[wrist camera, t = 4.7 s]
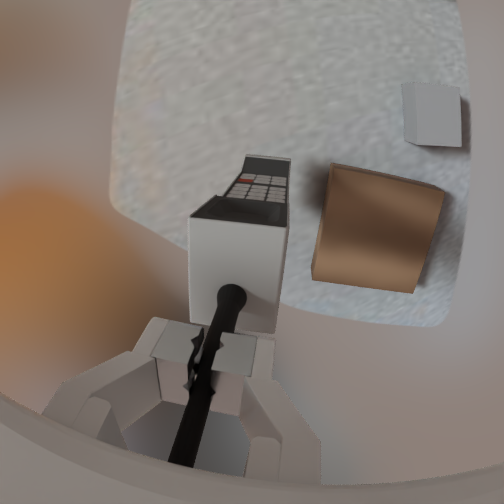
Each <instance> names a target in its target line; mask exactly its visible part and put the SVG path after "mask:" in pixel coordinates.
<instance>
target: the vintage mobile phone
mask: <svg viewBox="0 0 504 504" xmlns="http://www.w3.org/2000/svg"><path fill="white" fill-rule="evenodd" d="M290 165H291V159H290V158H281V157H271V156H261V155H250V154H246V155H245V157H244V161H243V164H242V168H241V171H240V173H239V174H238V176H237V177H236V178H235V179H234V181H233V182H232V183H231V184H230V186H229V187H228V188H227V190H226V191H225V192H224V193H223V195H222V196H217V195H214V196H213V197H212V198H210V199H209V200H208V201H207V202H205V203H204V204H203V205H202V206H200V207H199V208H198V209H197V210H196V211H194V212H193V213H192V214H191V215H190V216H189V217H188V274H189V305H190V321H191V322H192V323H198V324H204V325H210V328H209V331H208V333H207V336H206V339H205V342H204V344H203V348H204V353H203V357H202V361H201V365H200V368H199V370H198V373H197V376H196V379H195V382H194V385H193V388H192V391H191V394H190V397H189V400H188V403H187V406H186V408H185V411H184V414H183V418H182V421H181V423H180V426H179V429H178V432H177V435H176V438H175V441H174V444H173V447H172V450H171V453H170V456H169V459H168V462H169V463H173V464H177V465H181V466H186V467H190V468H193V466H194V463H195V459H196V455H197V452H198V448H199V444H200V441H201V437H202V433H203V430H204V426H205V422H206V419H207V415H208V412H209V408H210V396H211V392H212V387H211V368H212V365H213V362H214V358H215V355H216V351H217V350H219V347H220V338H221V335H222V332H223V331H227V332H233V333H234V330H235V329H238V330H245V331H253V332H261V333H269V334H274V333H275V328H276V321H277V315H278V308H279V301H280V294H281V287H282V280H283V273H284V265H285V258H286V250H287V243H288V235H289V177H290Z"/></svg>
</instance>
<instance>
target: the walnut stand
mask: <svg viewBox="0 0 504 504" xmlns="http://www.w3.org/2000/svg"><path fill="white" fill-rule="evenodd" d="M444 195H445V192H444V191H442V190H441V189H439V188H438V187H436V186H434V185H431V184H427V183H423V182H419V181H415V180H411V179H407V178H403V177H399V176H394V175H390V174H385V173H381V172H376V171H371V170H366V169H362V168H357V167H351V166H346V165H341V164H335V163H331V165H330V171H329V177H328V182H327V188H326V193H325V199H324V204H323V210H322V215H321V220H320V225H319V230H318V235H317V240H316V245H315V250H314V255H313V259H312V264H311V273H312V280H315V281H322V282H330V283H337V284H344V285H351V286H358V287H366V288H373V289H381V290H388V291H396V292H404V293H411V294H413V292H414V290H415V287H416V284H417V282H418V279H419V276H420V273H421V271H422V268H423V265H424V262H425V259H426V256H427V253H428V250H429V247H430V244H431V241H432V238H433V234H434V231H435V228H436V224H437V221H438V217H439V214H440V210H441V207H442V203H443V199H444Z"/></svg>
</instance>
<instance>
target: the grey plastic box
mask: <svg viewBox="0 0 504 504" xmlns="http://www.w3.org/2000/svg"><path fill="white" fill-rule="evenodd" d="M401 87H402V100H403V116H404V140H405V141H408V142H411V143H414V144H416V145H433V146H452V147H461V104H460V89H459V87H455V86H448V85H439V84H430V83H420V82H412V83H406V84H401Z"/></svg>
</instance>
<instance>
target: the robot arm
mask: <svg viewBox="0 0 504 504" xmlns="http://www.w3.org/2000/svg"><path fill="white" fill-rule="evenodd" d="M203 339H204V328H203V327H199V326H195V325H190V324H186V323H181V322H177V321H172V320H166V319H162V318H158V317H154V318H152V319H151V320H150V322H149V324H148V325H147V327H146V329H145V330H144V332H143V334H142V336H141V337H140V339H139V341H138V342H137V344H136V346H135V347H134V349H133V351H132V352H129V351H126V352H124V353H122V354H120V355H118V356H116V357H115V358H113V359H110V360H108V361H106V362H104V363H102V364H100V365H98V366H96V367H94V368H92V369H90V370H87V371H85V372H83V373H81V374H79V375H77V376H75V377H73V378H71V379H69V380H67V381H65V382H63V383H62V384H61V385H60V387H59V388H58V390H57V391H56V393H55V394H54V396H53V397H52V399H51V400H50V402H49V403H48V405H47V406H46V408H45V409H44V411H43V413H42V414H39V413H37V412H35V411H33V410H31V409H29V408H28V407H26V406H24V405H22V404H20V403H18V402H17V401H15V400H13V399H11V398H10V397H8V396H6V395H5V394H3V393H1V392H0V504H504V462H503V463H500V464H496V465H492V466H489V467H484V468H481V469H476V470H472V471H468V472H463V473H457V474H453V475H448V476H441V477H435V478H429V479H421V480H413V481H404V482H394V483H379V484H357V485H323V484H321V442H320V440H319V439H318V437H317V436H316V435H315V433H314V432H313V431H312V429H311V428H310V426H309V425H308V424H307V422H306V421H305V419H304V418H303V417H302V415H301V414H300V413H299V411H298V410H297V408H296V407H295V406H294V404H293V403H292V401H291V400H290V398H289V397H288V396H287V394H286V393H285V392H284V390H283V388H282V387H281V386H280V384H279V383H278V381H274V380H272V375H273V365H274V354H275V344H276V340H275V338H270V337H261V336H258V338H257V336H253V335H246V334H240V333H233V332H227V331H223V332H222V335H221V338H220V347H219V350H217V351H216V355H215V358H214V362H213V365H212V368H211V387H212V392H211V396H210V410H211V411H216V412H220V413H225V414H231V415H236V416H239V419H240V421H241V423H242V425H243V427H244V429H245V432H246V434H247V436H248V438H249V440H250V442H251V444H250V448H249V452H248V456H247V460H246V465H245V469H244V473H243V477H236V476H230V475H224V474H218V473H214V472H208V471H204V470H199V469H194V468H190V467H186V466H181V465H177V464H173V463H169V462H166V461H162V460H158V459H155V458H151V457H148V456H145V455H141V454H138V453H135V452H132V451H129V450H128V448H127V445H126V443H125V441H124V438H123V436H122V433H121V431H123V430H124V429H125V428H126V427H128V426H129V425H131V424H132V423H133V422H135V421H136V420H137V419H139V418H140V417H142V416H143V415H144V414H146V413H147V412H148V411H149V410H151V409H152V408H153V407H154V406H156V405H157V404H159V403H160V402H161V400H164V401H168V402H173V403H178V404H182V405H187V403H188V400H189V397H190V394H191V391H192V388H193V385H194V382H195V379H196V376H197V373H198V370H199V368H200V365H201V361H202V357H203V353H204V348H203V347H202V346H201V344H202V342H203ZM256 342H257V343H256Z"/></svg>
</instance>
